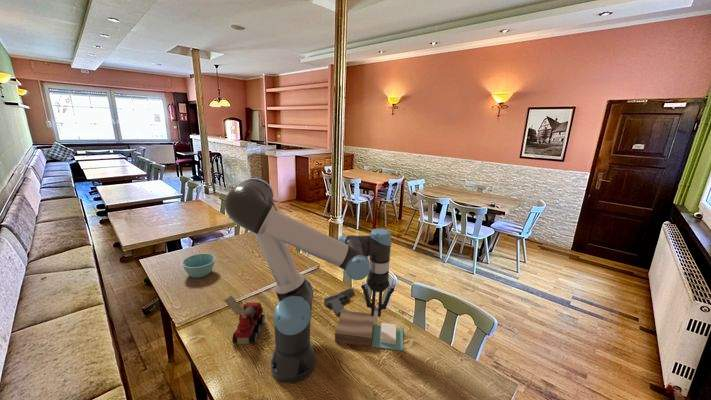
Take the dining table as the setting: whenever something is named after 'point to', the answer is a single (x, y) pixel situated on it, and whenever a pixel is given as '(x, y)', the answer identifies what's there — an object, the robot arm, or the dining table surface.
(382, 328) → the white rectangular block
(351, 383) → the dining table surface
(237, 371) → the dining table surface
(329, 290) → the dining table surface
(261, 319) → the toy fire truck
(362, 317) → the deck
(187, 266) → the bowl
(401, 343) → the mat
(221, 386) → the dining table surface
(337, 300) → the handgun
